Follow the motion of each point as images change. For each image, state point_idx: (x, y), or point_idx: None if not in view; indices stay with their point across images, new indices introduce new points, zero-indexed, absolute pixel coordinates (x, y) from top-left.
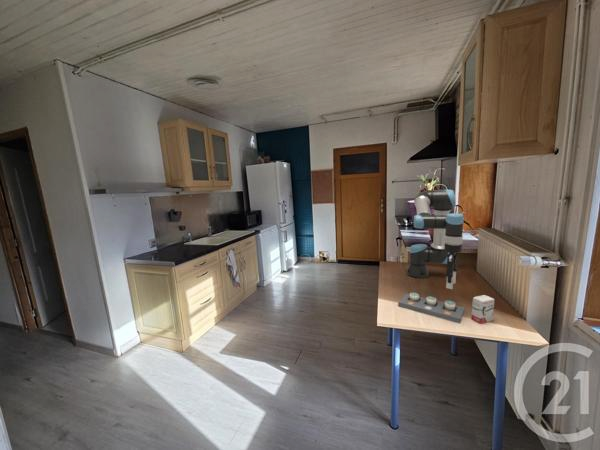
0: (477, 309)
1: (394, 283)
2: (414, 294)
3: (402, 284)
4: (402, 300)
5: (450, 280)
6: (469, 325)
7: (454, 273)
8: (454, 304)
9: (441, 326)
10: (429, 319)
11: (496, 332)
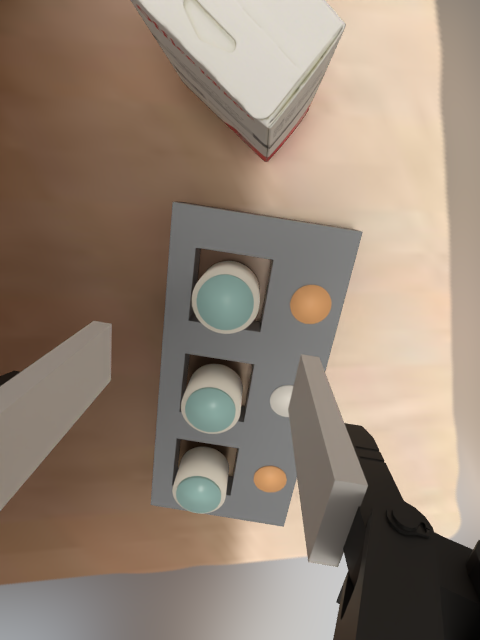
0: (303, 105)
1: (16, 542)
2: (208, 494)
3: (2, 511)
4: (252, 512)
5: (381, 467)
6: (356, 177)
7: (16, 420)
8: (240, 274)
9: (423, 321)
10: (366, 376)
11: (391, 7)
